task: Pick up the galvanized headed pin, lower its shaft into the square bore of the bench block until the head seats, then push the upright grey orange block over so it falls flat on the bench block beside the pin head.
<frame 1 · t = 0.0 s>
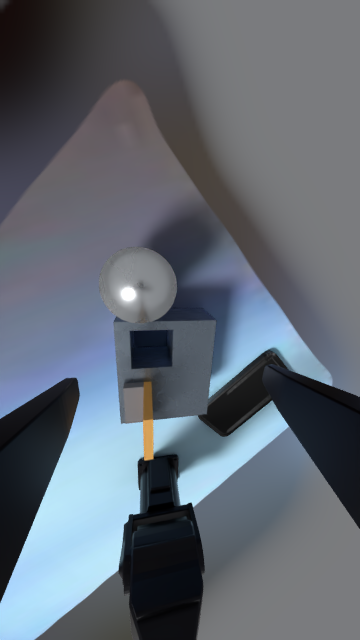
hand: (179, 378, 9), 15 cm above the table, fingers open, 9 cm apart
phone: (242, 391, 30), on the table
hitch block: (162, 352, 25), on the table
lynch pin: (141, 278, 21), on the table
grey orange block: (147, 399, 21), point 5 cm above the table, touching hitch block
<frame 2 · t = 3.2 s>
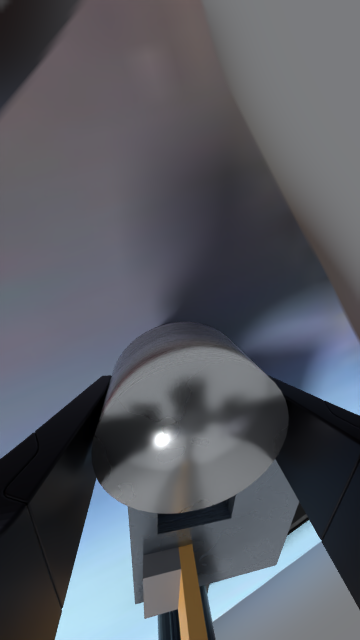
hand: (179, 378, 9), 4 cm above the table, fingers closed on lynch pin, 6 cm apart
hitch block: (197, 448, 16), on the table
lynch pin: (170, 345, 12), on the table, touching gripper
grey orange block: (183, 566, 11), point 5 cm above the table, touching hitch block
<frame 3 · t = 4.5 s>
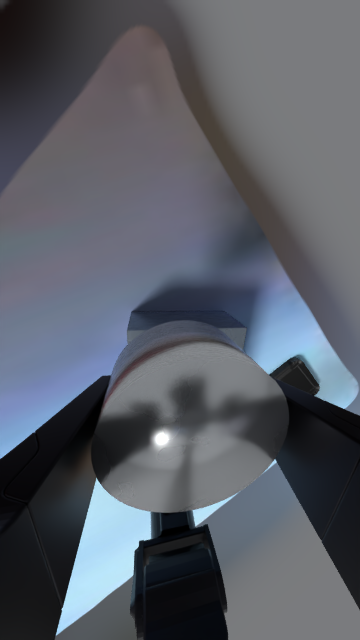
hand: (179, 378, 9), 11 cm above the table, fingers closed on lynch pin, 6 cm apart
phone: (262, 401, 27), on the table
hitch block: (177, 360, 22), on the table
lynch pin: (170, 344, 12), point 8 cm above the table, touching gripper
when the fingers open (7 cm above the table, at t = 6.1 s): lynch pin drops 2 cm, resting on hitch block.
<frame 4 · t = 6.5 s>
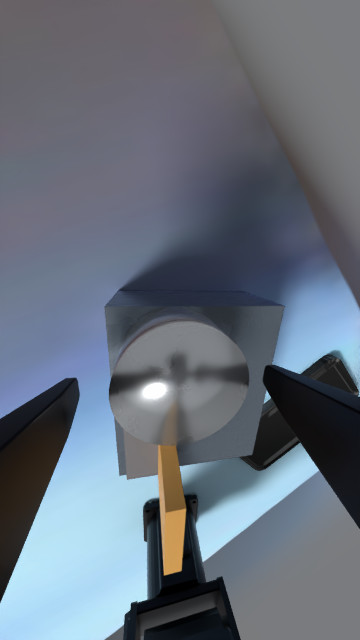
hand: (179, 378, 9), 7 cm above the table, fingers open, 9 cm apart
phone: (286, 410, 22), on the table
hitch block: (181, 358, 17), on the table
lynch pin: (166, 331, 14), point 1 cm above the table, touching hitch block
grey orange block: (163, 437, 12), point 5 cm above the table, touching hitch block
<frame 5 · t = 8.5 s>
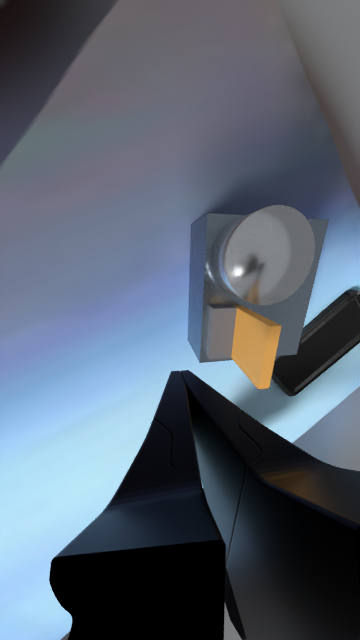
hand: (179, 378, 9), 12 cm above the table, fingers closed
phone: (313, 343, 26), on the table
hitch block: (233, 287, 21), on the table
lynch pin: (227, 258, 18), point 1 cm above the table, touching hitch block
grey orange block: (234, 330, 16), point 5 cm above the table, touching hitch block
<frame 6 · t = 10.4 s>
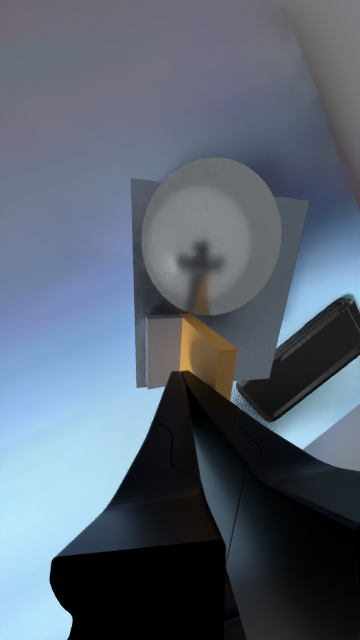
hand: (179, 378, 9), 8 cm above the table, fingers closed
phone: (297, 359, 22), on the table
hitch block: (196, 289, 16), on the table
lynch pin: (183, 251, 14), point 1 cm above the table, touching hitch block
grey orange block: (182, 346, 12), point 5 cm above the table, tilted 8°, touching gripper, hitch block
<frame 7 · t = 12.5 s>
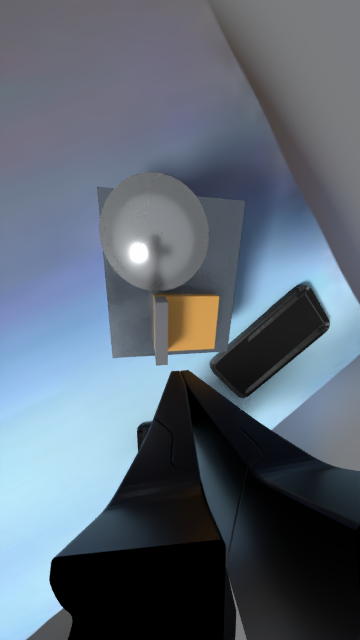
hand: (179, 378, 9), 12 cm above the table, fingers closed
phone: (265, 341, 24), on the table
hitch block: (167, 278, 19), on the table
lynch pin: (152, 245, 17), point 1 cm above the table, touching hitch block
grey orange block: (154, 323, 15), point 5 cm above the table, tilted 90°, touching hitch block
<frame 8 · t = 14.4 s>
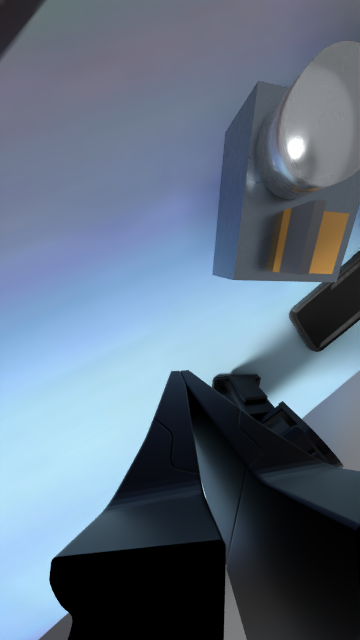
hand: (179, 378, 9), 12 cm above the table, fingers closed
phone: (342, 293, 24), on the table
hitch block: (265, 215, 19), on the table
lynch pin: (263, 173, 17), point 1 cm above the table, touching hitch block
grey orange block: (281, 242, 14), point 5 cm above the table, tilted 90°, touching hitch block
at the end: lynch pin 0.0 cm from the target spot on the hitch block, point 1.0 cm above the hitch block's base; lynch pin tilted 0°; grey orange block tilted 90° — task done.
